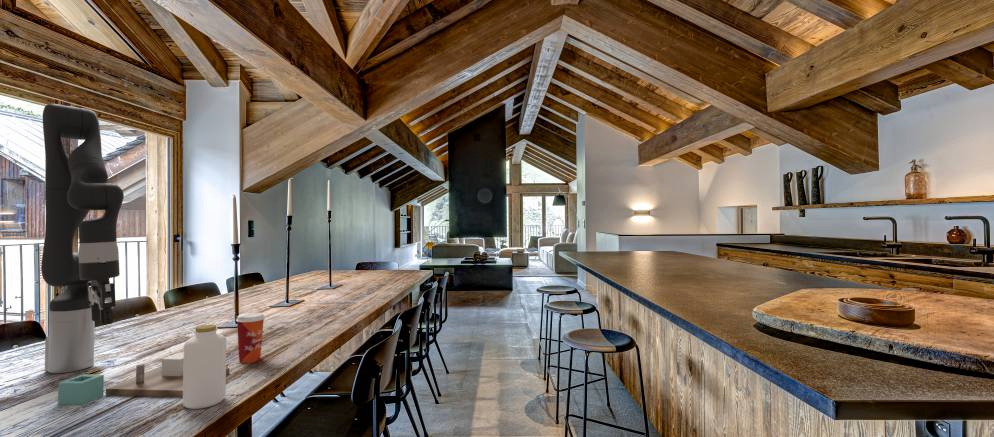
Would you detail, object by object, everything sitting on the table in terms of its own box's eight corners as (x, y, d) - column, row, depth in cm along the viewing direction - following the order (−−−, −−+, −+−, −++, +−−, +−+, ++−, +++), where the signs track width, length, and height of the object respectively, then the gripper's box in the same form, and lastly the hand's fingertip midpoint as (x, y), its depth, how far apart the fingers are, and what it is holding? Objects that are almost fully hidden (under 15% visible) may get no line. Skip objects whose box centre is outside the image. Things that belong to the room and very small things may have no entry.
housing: (161, 375, 111) (161, 358, 111) (177, 368, 116) (178, 352, 116) (179, 376, 111) (180, 359, 111) (195, 369, 116) (195, 353, 116)
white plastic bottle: (197, 395, 102) (198, 322, 102) (232, 395, 103) (234, 322, 103) (173, 411, 94) (175, 331, 94) (212, 410, 95) (214, 331, 95)
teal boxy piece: (58, 404, 97) (58, 382, 97) (81, 394, 102) (82, 374, 102) (80, 405, 96) (81, 383, 96) (103, 395, 102) (103, 374, 102)
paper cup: (250, 365, 124) (251, 318, 124) (228, 363, 126) (229, 316, 126) (270, 357, 132) (270, 312, 132) (249, 355, 133) (250, 311, 133)
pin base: (105, 394, 102) (106, 370, 102) (160, 371, 118) (160, 350, 118) (185, 396, 102) (185, 372, 102) (229, 373, 118) (229, 351, 118)
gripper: (72, 260, 109) (75, 322, 109) (86, 262, 101) (89, 329, 101) (110, 257, 115) (113, 316, 115) (126, 259, 107) (129, 322, 107)
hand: (102, 322), depth 108 cm, fingers open, 8 cm apart
